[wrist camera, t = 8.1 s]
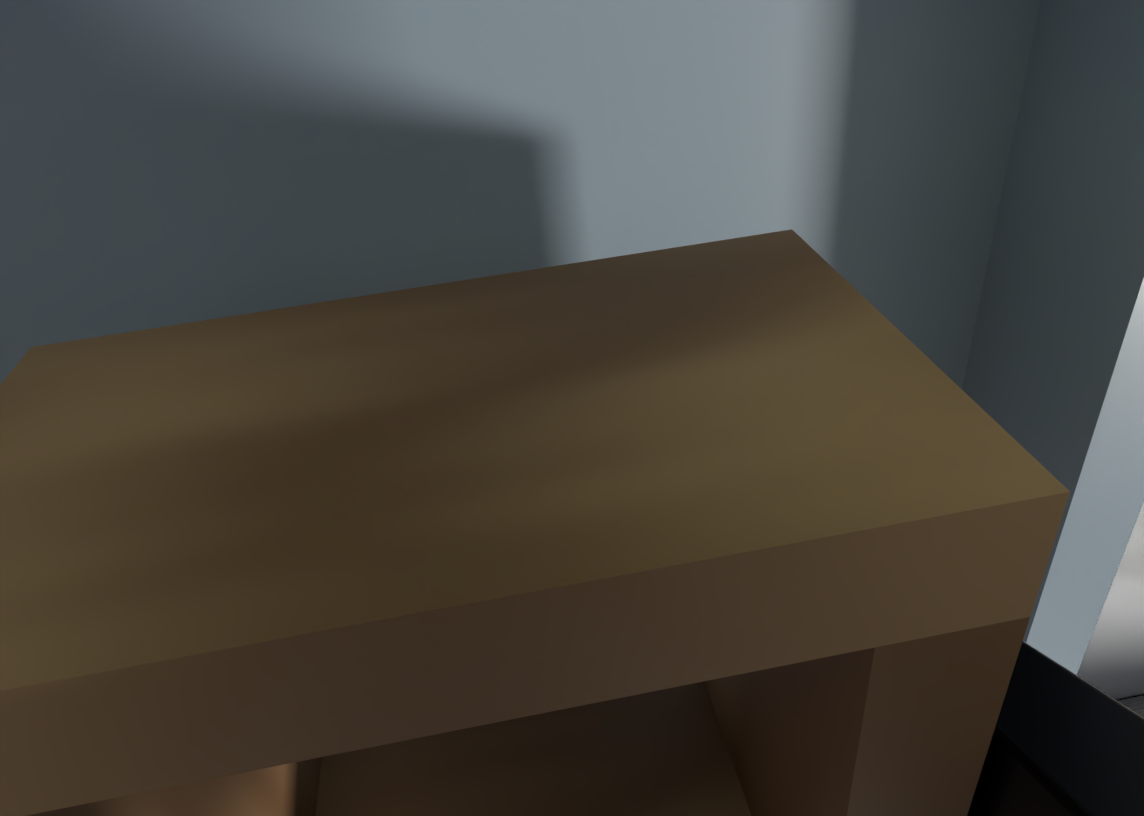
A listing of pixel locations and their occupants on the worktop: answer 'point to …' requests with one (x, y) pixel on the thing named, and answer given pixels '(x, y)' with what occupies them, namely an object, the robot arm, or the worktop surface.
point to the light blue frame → (614, 181)
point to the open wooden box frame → (513, 554)
